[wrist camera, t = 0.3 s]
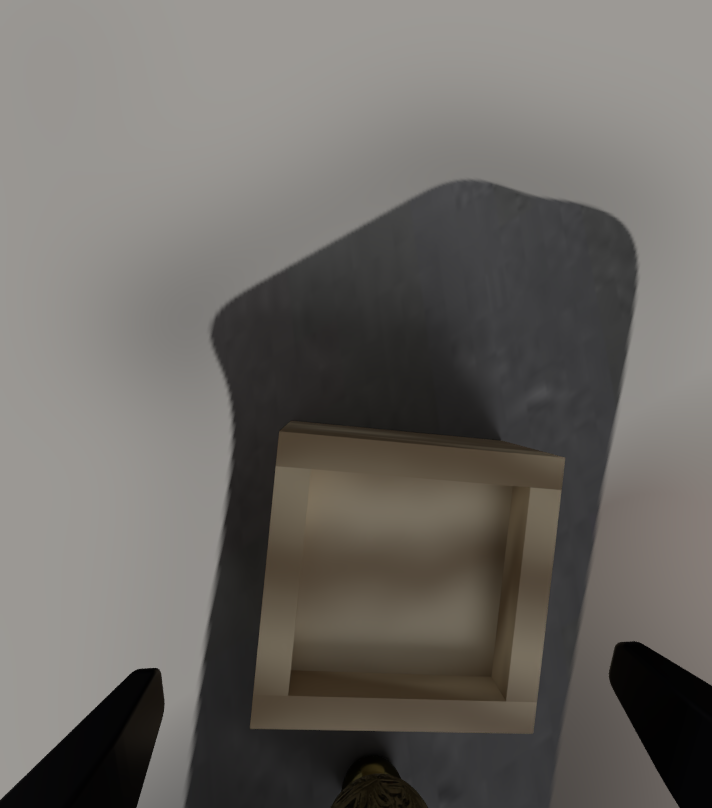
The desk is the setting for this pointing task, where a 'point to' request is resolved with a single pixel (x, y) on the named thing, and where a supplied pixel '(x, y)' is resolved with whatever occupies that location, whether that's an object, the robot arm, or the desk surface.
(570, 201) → the desk surface
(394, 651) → the wooden box
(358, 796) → the cup
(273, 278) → the desk surface
